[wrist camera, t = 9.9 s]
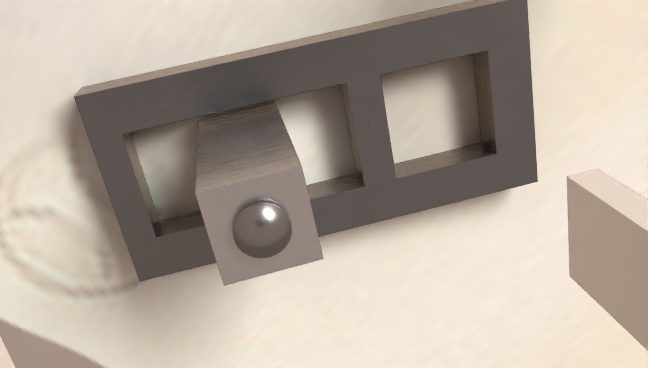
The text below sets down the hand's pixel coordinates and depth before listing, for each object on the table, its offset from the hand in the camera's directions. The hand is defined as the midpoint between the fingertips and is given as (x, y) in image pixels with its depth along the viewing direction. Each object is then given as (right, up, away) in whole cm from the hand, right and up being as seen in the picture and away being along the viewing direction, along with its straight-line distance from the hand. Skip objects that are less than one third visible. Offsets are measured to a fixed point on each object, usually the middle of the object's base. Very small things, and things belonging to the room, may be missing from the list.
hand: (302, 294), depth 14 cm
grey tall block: (-4, +4, +18) cm, 19 cm away
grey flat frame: (0, +5, +19) cm, 20 cm away
